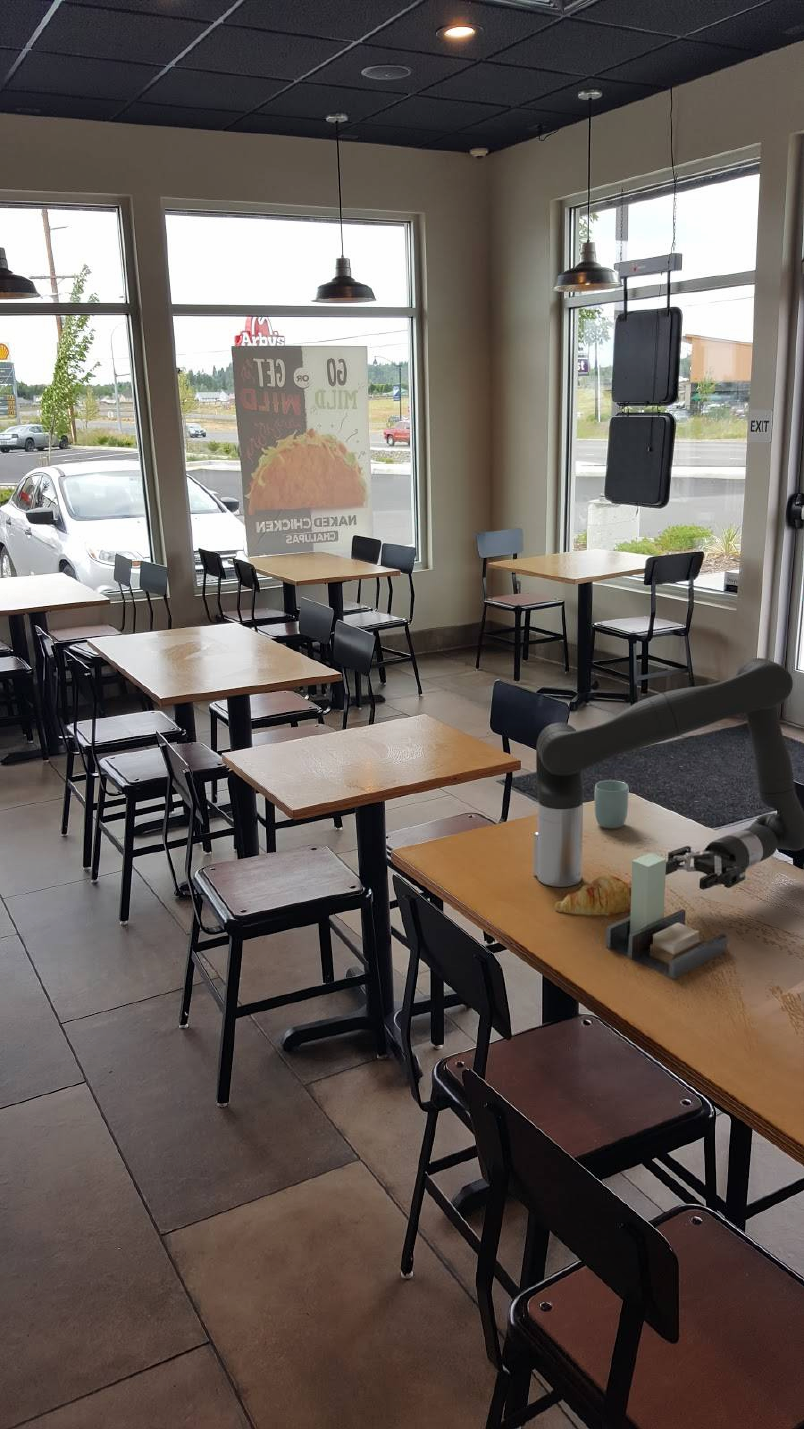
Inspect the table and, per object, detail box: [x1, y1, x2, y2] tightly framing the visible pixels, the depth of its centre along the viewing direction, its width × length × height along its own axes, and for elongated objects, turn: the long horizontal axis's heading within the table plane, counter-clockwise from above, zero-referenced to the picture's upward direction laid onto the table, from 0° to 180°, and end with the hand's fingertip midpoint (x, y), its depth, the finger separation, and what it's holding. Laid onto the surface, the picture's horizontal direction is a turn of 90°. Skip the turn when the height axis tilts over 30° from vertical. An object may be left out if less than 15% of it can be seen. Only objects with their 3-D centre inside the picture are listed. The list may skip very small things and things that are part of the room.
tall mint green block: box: [629, 852, 667, 934], centre depth 196 cm, size 4×5×16 cm
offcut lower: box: [650, 939, 701, 964], centre depth 193 cm, size 5×8×2 cm, turn 128°
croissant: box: [554, 875, 632, 916], centre depth 213 cm, size 21×10×8 cm, turn 105°
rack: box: [605, 909, 728, 980], centre depth 195 cm, size 15×15×6 cm
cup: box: [594, 779, 630, 830], centre depth 253 cm, size 8×8×10 cm
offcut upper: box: [653, 923, 700, 954], centre depth 193 cm, size 5×7×2 cm, turn 128°
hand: (682, 877), depth 202 cm, fingers open, 8 cm apart
